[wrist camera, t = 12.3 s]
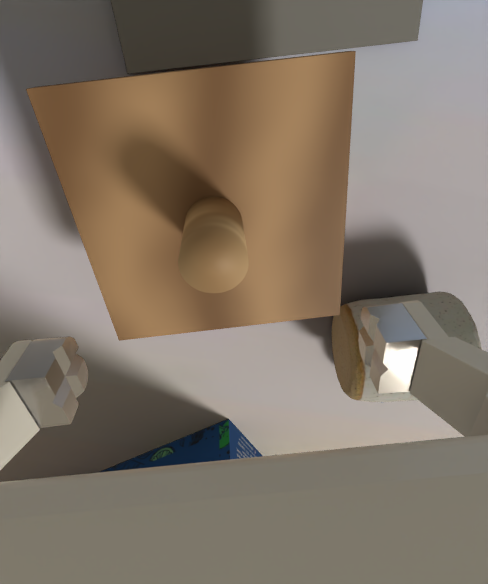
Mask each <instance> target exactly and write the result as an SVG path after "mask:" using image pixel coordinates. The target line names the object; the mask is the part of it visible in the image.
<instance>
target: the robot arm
mask: <svg viewBox="0 0 488 584" xmlns="http://www.w3.org/2000/svg"><path fill="white" fill-rule="evenodd" d="M360 319H361V321H362V323H363V325H364V326H363V327H362V328H361V329H360V331H359V339H358V341H359V350H360V354H361V357H362V359H363V362H364V364H366V365H368V366H369V367H370V377H371V380H372V382H373V384H374V386H375V388H376V391H377V393H378V394H382V393H396V392H410V394H412V395H413V396H414V397H415V398H417V399H418V400H419V401H421V402H422V403H423V404H424V405H426V406H427V407H428V408H429V409H431V410H432V411H433V412H434V413H436V414H437V415H438V416H440V417H441V418H442V419H443V420H445V421H446V422H447V423H448V424H450V425H451V426H452V427H453V428H455V429H456V430H457V431H458V432H460V433H461V434H462V435H464V436H465V437H457V438H447V439H436V440H426V441H416V442H406V443H395V444H385V445H375V446H365V447H354V448H344V449H334V450H324V451H313V452H303V453H293V454H282V455H272V456H262V457H252V458H241V459H231V460H221V461H211V462H200V463H190V464H180V465H170V466H160V467H149V468H139V469H129V470H119V471H108V472H98V473H88V474H78V475H67V476H57V477H47V478H37V479H27V480H16V481H6V482H0V584H488V352H486V351H484V350H481V349H479V348H477V347H475V346H473V345H471V344H469V343H467V342H465V341H462V340H460V339H458V338H456V337H448V335H447V334H446V333H445V332H444V330H443V329H442V328H441V327H440V325H439V324H438V323H437V322H436V320H435V319H434V318H433V316H432V315H431V314H430V313H429V311H428V310H427V309H426V308H425V306H424V305H423V304H422V303H421V302H420V301H418V300H415V301H407V302H399V303H395V304H386V305H376V306H367V307H363V308H362V311H361V318H360ZM77 350H78V345H77V343H76V341H75V339H74V338H72V337H57V338H44V339H35V340H23V341H17V342H15V343H13V344H12V345H11V346H10V348H9V349H8V351H7V352H6V353H5V355H4V356H3V358H2V359H1V360H0V470H1V469H2V468H3V467H4V466H5V465H6V464H7V463H8V462H9V461H10V460H11V459H12V458H13V457H14V456H15V455H16V454H17V453H18V452H19V451H20V450H21V449H22V448H23V447H24V446H25V445H26V444H27V443H28V442H29V441H30V439H31V438H32V437H33V436H34V435H35V434H36V433H37V432H38V431H39V430H40V429H39V428H45V427H53V426H61V425H69V424H71V423H72V421H73V418H74V416H75V413H76V411H77V408H78V406H79V403H78V401H77V399H76V398H77V397H78V396H79V395H81V394H82V393H83V392H84V391H85V388H86V385H87V382H88V369H87V365H86V362H85V360H84V359H83V358H82V357H80V356H79V355H77V354H76V352H77Z"/></svg>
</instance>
